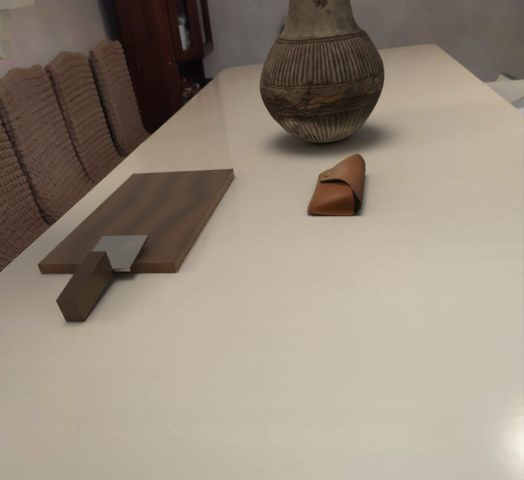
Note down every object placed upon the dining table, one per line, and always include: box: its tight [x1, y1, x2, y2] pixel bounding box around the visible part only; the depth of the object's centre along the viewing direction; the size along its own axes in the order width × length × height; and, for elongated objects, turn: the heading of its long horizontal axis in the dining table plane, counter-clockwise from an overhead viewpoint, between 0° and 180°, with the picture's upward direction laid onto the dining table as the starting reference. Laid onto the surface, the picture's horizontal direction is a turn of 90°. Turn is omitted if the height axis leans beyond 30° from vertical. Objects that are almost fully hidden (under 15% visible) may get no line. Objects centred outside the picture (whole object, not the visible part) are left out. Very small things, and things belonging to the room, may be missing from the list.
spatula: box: [55, 235, 149, 323], centre depth 68 cm, size 18×7×3 cm, turn 170°
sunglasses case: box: [306, 153, 367, 217], centre depth 86 cm, size 18×7×7 cm
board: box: [37, 168, 235, 275], centre depth 87 cm, size 20×37×2 cm, turn 170°
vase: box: [259, 0, 386, 144], centre depth 103 cm, size 25×25×30 cm
